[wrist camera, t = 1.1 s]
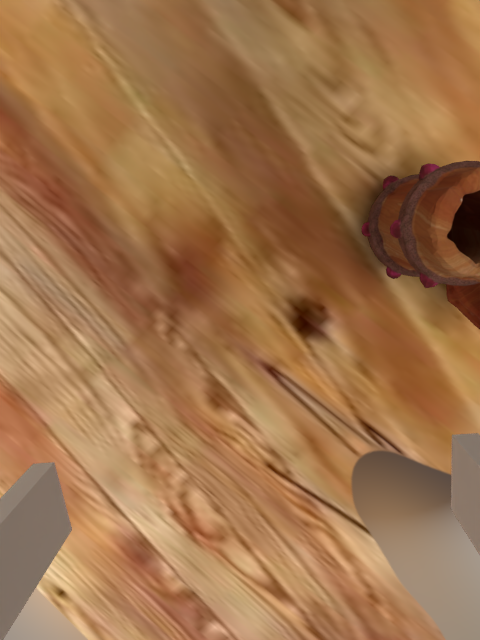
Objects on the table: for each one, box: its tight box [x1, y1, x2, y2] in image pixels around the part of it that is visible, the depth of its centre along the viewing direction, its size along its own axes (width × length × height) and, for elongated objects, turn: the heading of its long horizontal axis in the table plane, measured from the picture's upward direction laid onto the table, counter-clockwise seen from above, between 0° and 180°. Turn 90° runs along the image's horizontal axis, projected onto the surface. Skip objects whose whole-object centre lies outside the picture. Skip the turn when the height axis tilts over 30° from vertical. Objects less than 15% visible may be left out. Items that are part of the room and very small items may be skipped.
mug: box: [362, 161, 480, 329], centre depth 29 cm, size 15×8×15 cm, turn 35°
